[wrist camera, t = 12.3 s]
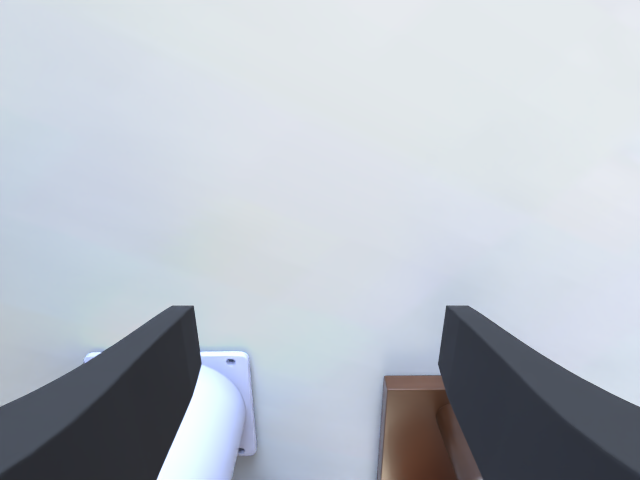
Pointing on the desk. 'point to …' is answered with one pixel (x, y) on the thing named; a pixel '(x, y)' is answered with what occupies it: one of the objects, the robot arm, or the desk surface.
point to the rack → (421, 433)
